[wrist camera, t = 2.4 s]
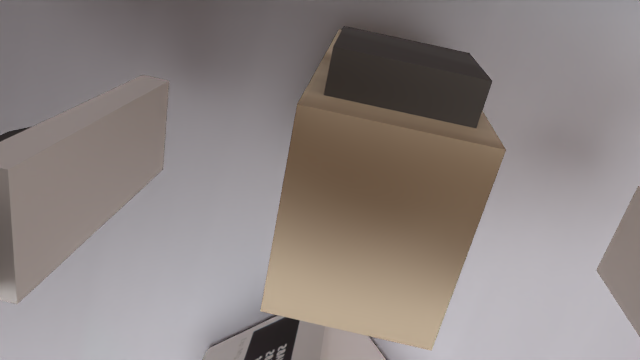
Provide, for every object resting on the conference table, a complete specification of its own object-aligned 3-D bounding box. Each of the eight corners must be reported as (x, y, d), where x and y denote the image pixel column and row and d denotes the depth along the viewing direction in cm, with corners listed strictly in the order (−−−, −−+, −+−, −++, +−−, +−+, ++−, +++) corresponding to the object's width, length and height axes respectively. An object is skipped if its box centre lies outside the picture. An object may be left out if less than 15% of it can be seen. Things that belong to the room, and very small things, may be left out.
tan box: (410, 175, 21) (431, 350, 12) (313, 154, 21) (260, 311, 12) (454, 24, 18) (525, 98, 9) (344, 0, 18) (306, 51, 9)
